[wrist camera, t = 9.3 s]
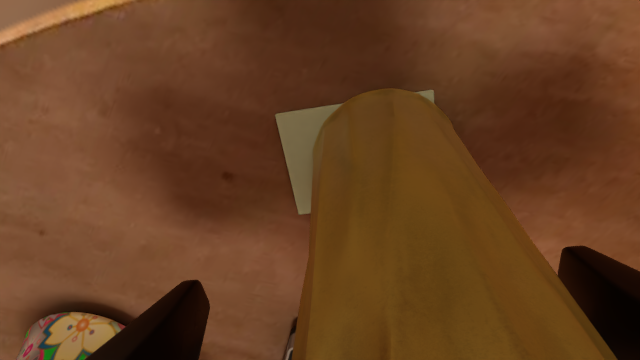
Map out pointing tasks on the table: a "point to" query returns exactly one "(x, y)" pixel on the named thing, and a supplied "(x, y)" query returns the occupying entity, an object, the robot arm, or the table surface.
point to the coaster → (306, 146)
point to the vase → (423, 250)
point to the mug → (67, 336)
